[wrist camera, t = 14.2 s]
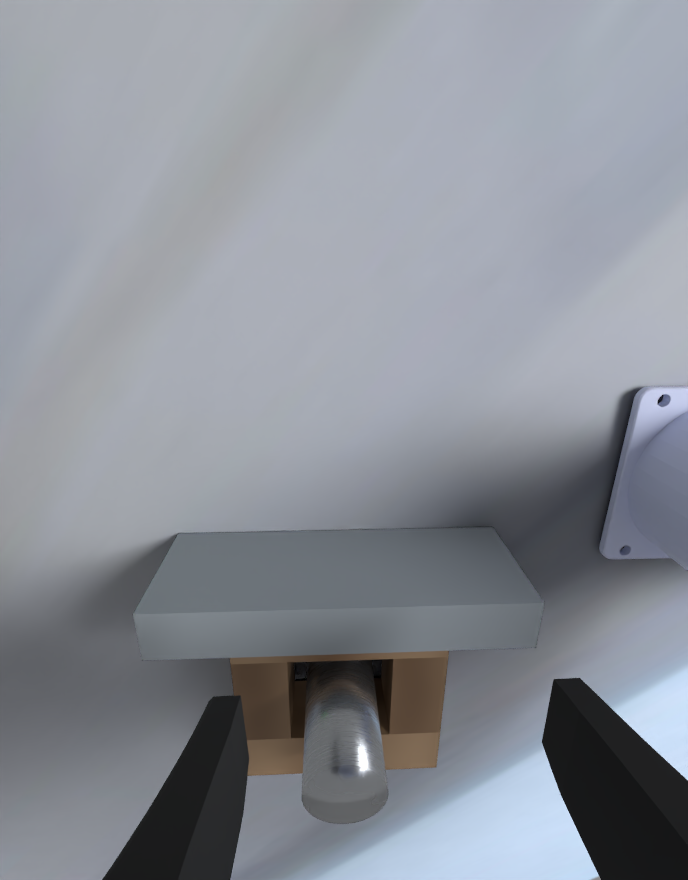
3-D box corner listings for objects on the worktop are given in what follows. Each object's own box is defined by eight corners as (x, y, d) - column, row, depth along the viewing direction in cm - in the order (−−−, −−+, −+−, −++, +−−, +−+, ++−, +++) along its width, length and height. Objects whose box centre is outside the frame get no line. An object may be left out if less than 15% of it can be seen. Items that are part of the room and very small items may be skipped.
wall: (492, 527, 20) (544, 602, 15) (487, 564, 21) (535, 647, 16) (178, 533, 20) (132, 614, 15) (184, 571, 20) (141, 660, 16)
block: (435, 566, 21) (453, 612, 18) (422, 708, 24) (436, 767, 21) (238, 571, 20) (225, 619, 17) (252, 715, 23) (242, 775, 20)
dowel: (366, 613, 22) (385, 761, 15) (370, 661, 23) (390, 818, 16) (304, 620, 21) (296, 771, 15) (311, 667, 23) (307, 827, 16)
